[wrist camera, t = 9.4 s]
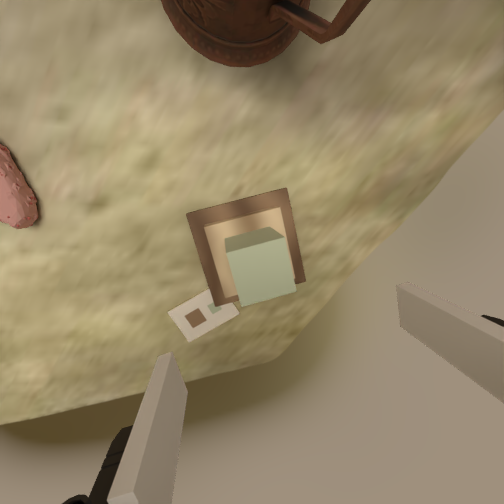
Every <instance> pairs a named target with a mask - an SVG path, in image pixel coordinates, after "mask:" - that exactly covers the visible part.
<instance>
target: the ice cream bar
mask: <svg viewBox="0 0 504 504" xmlns="http://www.w3.org/2000/svg"><path fill="white" fill-rule="evenodd" d="M24 178H25V177H24V176H23V175H22V172H20V171H19V170H18V168H17V166H16V165H15V163H14V161H13V160H12V158H11V156H10V151H9V150H8V149H7V148H6V146H3V145H1V144H0V221H1V222H2V223H3V222H5V223H9V225H10V226H12V227H14V228H16V229H22V228H27V227H29V226H32V225H33V223H34V221H35V220H36V219H37V218H38V213H37V206H36V202H37V200H36V198H35V196H34V194H33V192H32V189H30V188H29V187H28V185H27V183H26V182H25V180H24Z"/></svg>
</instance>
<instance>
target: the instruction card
mask: <svg viewBox="0 0 504 504" xmlns="http://www.w3.org/2000/svg"><path fill="white" fill-rule="evenodd" d="M167 313H168V314H169V315H170V317H171V318H172V319H173V321H174V322H175V324H176V325H177V326H178V328H179V329H180V330H181V332H182V333H183V334H184V336H185V337H186V339H187V340H188V341H189V342H191V341H193V340H195V339H196V338H198V337H200V336H202V335H203V334H205V333H207V332H209V331H210V330H212V329H214V328H216V327H217V326H219V325H221V324H223V323H224V322H226V321H228V320H230V319H232V318H233V317H235V316H237V315H239V314H240V313H239V311H238V309H237V308H236V306H235V305H234V303H233V302H232V303H228V304H225V305H221V306H218V307H215V305H214V302H213V299H212V295H211V292H210V289H209V288H208V289H206V290H205V291H203V292H201V293H199V294H198V295H196V296H194V297H192V298H191V299H189V300H187V301H185V302H184V303H182V304H180V305H178V306H177V307H175V308H173V309H171V310H170V311H168V312H167Z"/></svg>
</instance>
